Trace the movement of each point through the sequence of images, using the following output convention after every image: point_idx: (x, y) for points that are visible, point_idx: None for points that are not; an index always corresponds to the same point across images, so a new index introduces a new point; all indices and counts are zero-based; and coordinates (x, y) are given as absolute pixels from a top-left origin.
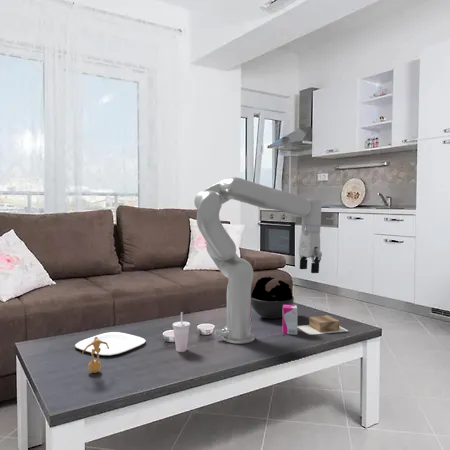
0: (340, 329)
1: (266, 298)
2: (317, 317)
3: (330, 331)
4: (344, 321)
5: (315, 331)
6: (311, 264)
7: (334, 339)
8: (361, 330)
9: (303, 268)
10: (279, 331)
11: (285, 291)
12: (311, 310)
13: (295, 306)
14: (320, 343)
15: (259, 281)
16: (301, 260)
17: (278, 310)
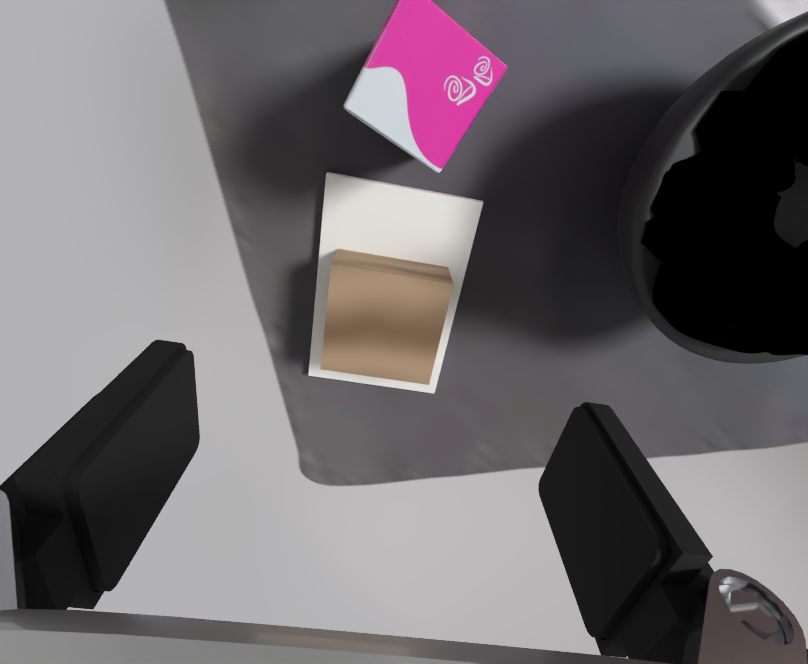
0: None
1: (776, 68)
2: (421, 315)
3: None
4: (445, 450)
5: (360, 239)
6: (77, 450)
7: (251, 259)
8: (318, 429)
9: (559, 447)
10: None
11: (711, 268)
12: (650, 439)
13: (398, 130)
14: (216, 154)
15: None
16: (651, 547)
17: (634, 161)
